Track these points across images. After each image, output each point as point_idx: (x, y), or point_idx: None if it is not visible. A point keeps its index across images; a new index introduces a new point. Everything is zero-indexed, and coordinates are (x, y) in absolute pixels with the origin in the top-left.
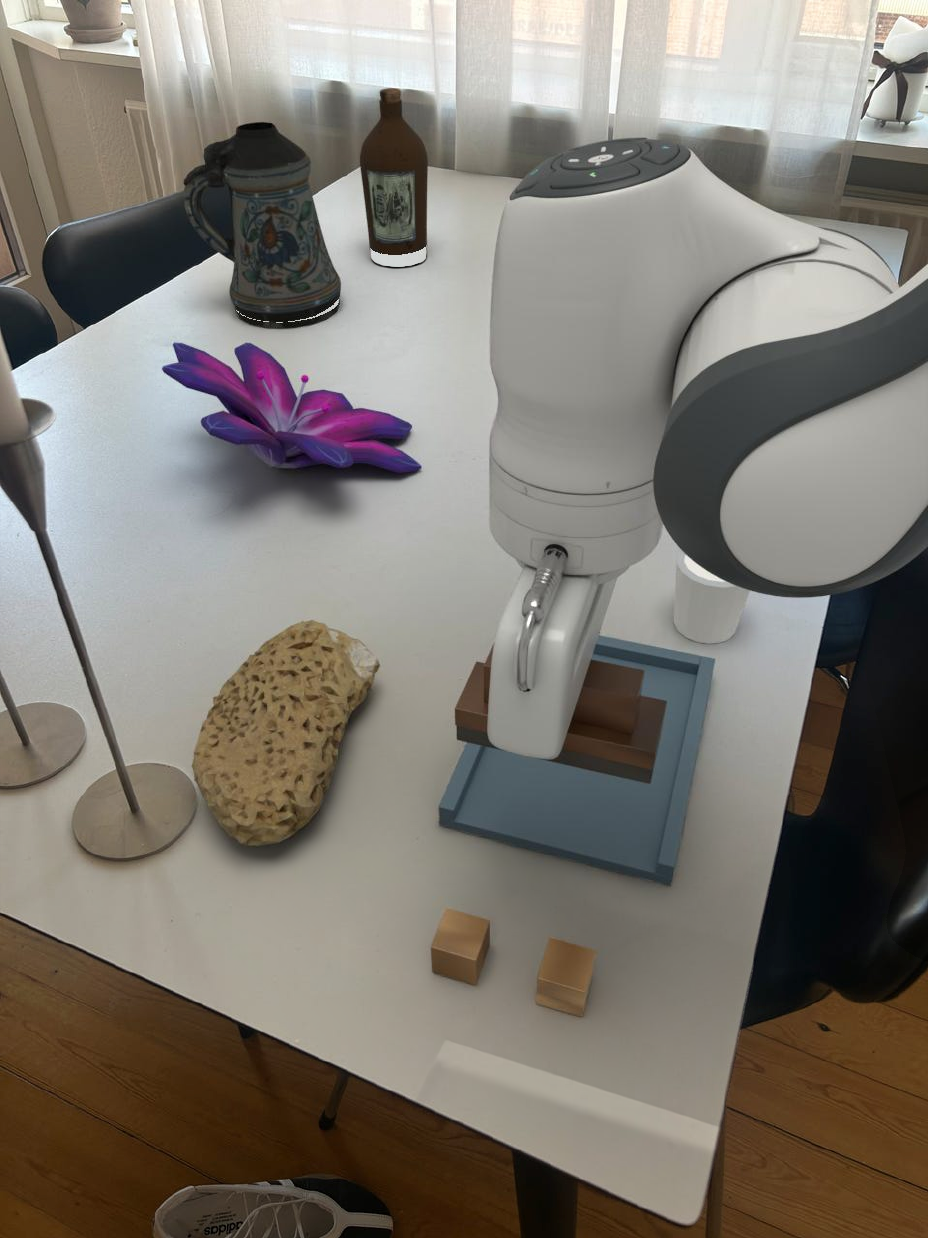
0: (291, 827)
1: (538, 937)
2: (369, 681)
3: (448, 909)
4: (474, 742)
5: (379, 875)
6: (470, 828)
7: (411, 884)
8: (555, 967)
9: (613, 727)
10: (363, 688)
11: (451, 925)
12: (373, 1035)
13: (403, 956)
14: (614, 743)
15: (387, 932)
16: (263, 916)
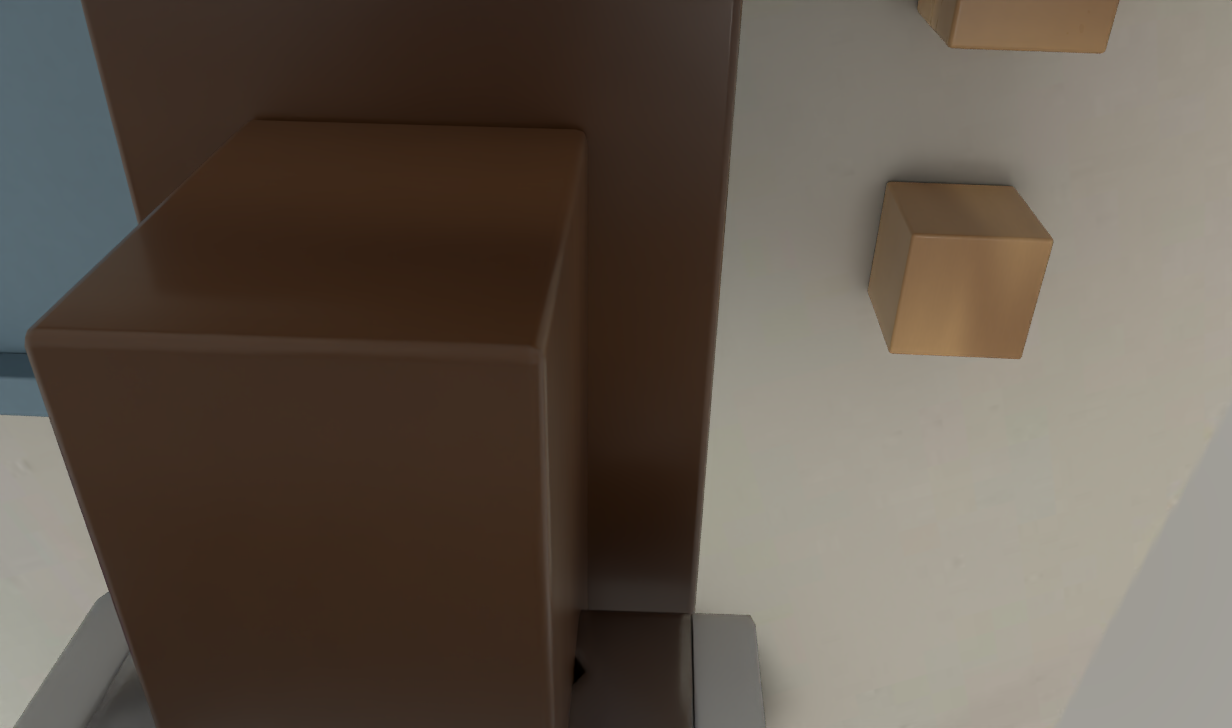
0: None
1: (835, 55)
2: None
3: (893, 346)
4: None
5: (732, 473)
6: None
7: (740, 404)
8: (1061, 5)
9: (585, 287)
10: None
11: (945, 327)
12: (1161, 371)
13: (947, 367)
14: (719, 242)
15: (887, 416)
16: (889, 637)
